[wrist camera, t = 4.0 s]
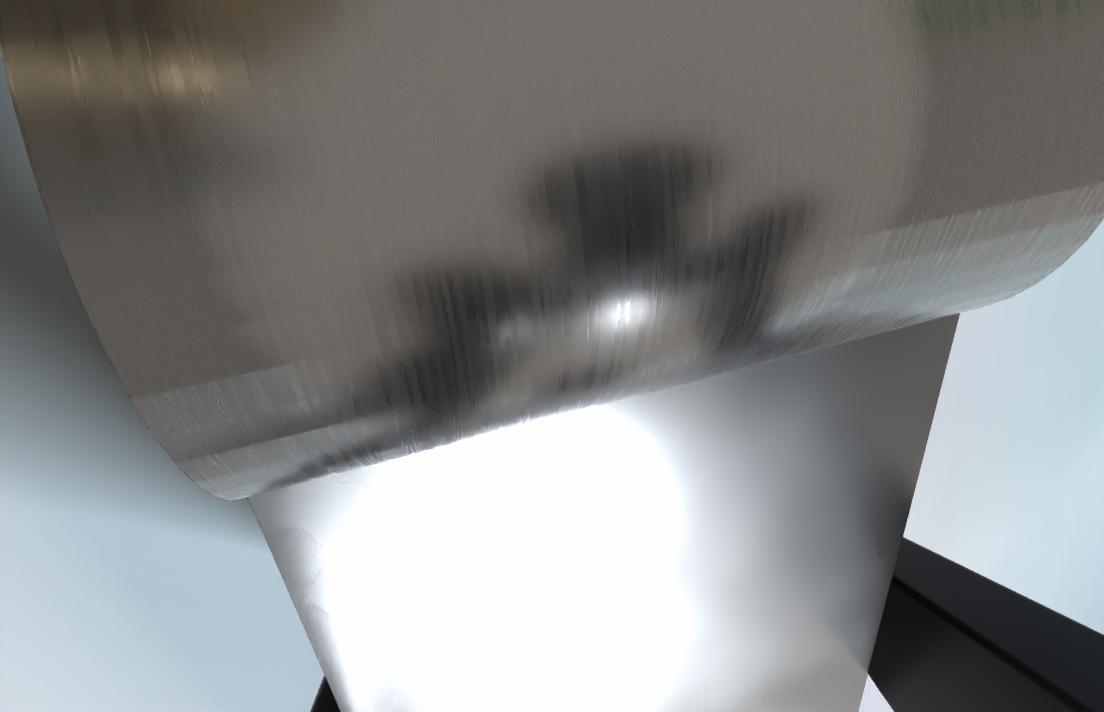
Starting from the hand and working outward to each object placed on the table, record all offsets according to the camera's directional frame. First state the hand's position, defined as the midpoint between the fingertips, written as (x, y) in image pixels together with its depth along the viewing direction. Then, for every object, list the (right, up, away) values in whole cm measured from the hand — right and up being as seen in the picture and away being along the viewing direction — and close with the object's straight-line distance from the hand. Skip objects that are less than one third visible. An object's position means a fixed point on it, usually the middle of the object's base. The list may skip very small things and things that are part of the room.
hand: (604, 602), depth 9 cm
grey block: (-1, +3, 0) cm, 3 cm away
